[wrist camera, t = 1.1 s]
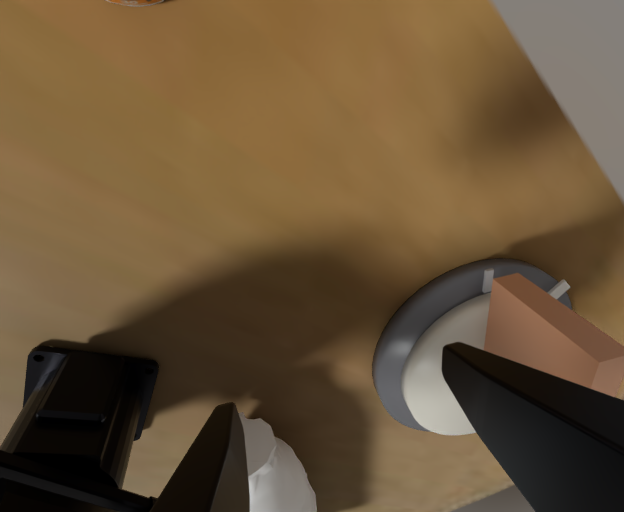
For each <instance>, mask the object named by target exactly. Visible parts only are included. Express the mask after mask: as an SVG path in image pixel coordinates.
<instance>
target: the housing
mask: <svg viewBox="0 0 624 512" xmlns="http://www.w3.org/2000/svg"><path fill="white" fill-rule="evenodd" d="M515 273H519V274H521V275H522V276H524V277H525V278H526V279H528V280H529V281H531V282H532V283H534V284H535V285H536V286H538V287H539V288H541V289H542V290H544V291H545V292H547V293H548V294H549V295H551V296H552V297H554V298H555V299H557V300H558V301H559V302H561V303H562V304H564V305H565V306H567V307H568V308H569V309H571V310H572V307H571V302H570V299H569V296H568V294H567V292H566V291H567V290H568V289H569V288H570V286H569V284H568V283H567V282H566V281H565V280H564V279H562V280H561V281H560V282H558V281H557V280H556V279H554V278H553V277H551V276H550V275H548V274H547V273H545V272H543V271H542V270H540V269H539V268H537V267H536V266H534V265H531V264H529V263H527V262H524V261H519V260H515V259H503V258H499V259H487V260H482V261H477V262H473V263H470V264H466V265H463V266H460V267H458V268H456V269H453V270H451V271H449V272H446V273H445V274H443V275H441V276H439V277H437V278H436V279H434V280H432V281H431V282H429V283H428V284H426V285H425V286H424V287H422V288H421V289H419V290H418V291H417V292H416V293H415V294H414V295H412V296H411V297H410V298H409V299H408V300H407V301H406V302H405V303H404V304H403V305H402V306H401V307H400V308H399V309H398V310H397V312H396V313H395V314H394V316H393V317H392V318H391V319H390V321H389V322H388V324H387V326H386V327H385V329H384V330H383V332H382V334H381V336H380V339H379V341H378V343H377V346H376V349H375V352H374V357H373V363H372V376H373V381H374V385H375V388H376V390H377V393H378V395H379V397H380V399H381V401H382V403H383V406H384V407H385V409H386V410H387V412H388V413H389V414H390V415H391V416H392V417H393V418H394V419H395V420H397V421H398V422H400V423H401V424H403V425H405V426H408V427H410V428H413V429H417V430H422V431H429V430H427V429H425V428H424V427H423V426H421V425H420V424H419V423H418V422H417V421H416V420H415V419H414V417H413V415H412V413H411V411H410V410H409V408H408V406H407V404H406V402H405V400H404V398H403V395H402V392H401V374H402V370H403V366H404V364H405V361H406V358H407V356H408V355H409V353H410V351H411V349H412V347H413V346H414V345H415V343H416V342H417V340H418V339H419V338H420V337H421V335H422V334H423V333H424V332H425V331H426V330H427V329H428V328H429V327H430V326H431V325H432V324H433V323H434V322H435V321H436V320H438V319H439V318H440V317H441V316H443V315H444V314H445V313H447V312H448V311H450V310H451V309H453V308H454V307H456V306H458V305H460V304H462V303H464V302H466V301H468V300H470V299H473V298H475V297H477V296H481V295H484V294H487V293H491V290H492V282H493V279H494V278H498V277H502V276H507V275H511V274H515ZM431 432H432V431H431Z"/></svg>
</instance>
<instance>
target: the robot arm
mask: <svg viewBox="0 0 624 512" xmlns="http://www.w3.org/2000/svg"><path fill="white" fill-rule="evenodd" d="M38 355H42V356H43V357H40V356H38ZM147 368H152V369H151V370H149V369H147ZM441 369H442V374H443V377H444V380H445V381H446V383H447V385H448V386H449V388H450V390H451V392H452V393H453V395H454V397H455V398H456V400H457V402H458V403H459V405H460V407H461V408H462V410H463V412H464V413H465V415H466V417H467V419H468V420H469V422H470V423H471V425H472V427H473V428H474V430H475V431H476V433H477V434H478V435H479V437H480V438H481V440H482V441H483V442H484V444H485V445H486V446H487V448H488V449H489V450H490V452H491V453H492V454H493V456H494V457H495V458H496V460H497V461H498V462H499V464H500V465H501V466H502V468H503V469H504V470H505V472H506V473H507V474H508V476H509V477H510V478H511V480H512V481H513V482H514V484H515V485H516V486H517V487H518V489H519V490H520V492H521V493H522V494H523V496H524V497H525V498H526V500H527V501H528V502H529V504H530V505H531V506H532V508H533V509H534V510H535V512H624V400H621V399H618V398H615V397H613V396H610V395H607V394H604V393H602V392H599V391H596V390H593V389H590V388H588V387H585V386H582V385H579V384H576V383H574V382H571V381H568V380H565V379H562V378H560V377H557V376H554V375H551V374H548V373H546V372H543V371H540V370H537V369H535V368H532V367H529V366H526V365H523V364H521V363H518V362H515V361H512V360H509V359H507V358H504V357H501V356H498V355H495V354H493V353H490V352H487V351H484V350H482V349H479V348H476V347H473V346H470V345H468V344H465V343H462V342H454V343H450V344H447V345H445V346H444V347H443V350H442V367H441ZM158 370H159V364H158V362H156V361H154V360H149V359H141V358H133V357H125V356H117V355H109V354H101V353H93V352H86V351H78V350H70V349H62V348H54V347H46V346H37V347H35V348H33V349H32V351H31V352H30V354H29V355H28V360H27V370H26V381H25V391H24V401H23V409H22V411H21V412H20V414H19V416H18V417H17V419H16V421H15V423H14V424H13V426H12V428H11V429H10V431H9V433H8V434H7V436H6V438H5V440H4V441H3V443H2V445H1V446H0V512H250V493H249V480H248V469H247V458H246V447H245V436H244V430H243V425H242V422H241V419H240V417H239V414H238V411H237V408H236V405H235V404H234V403H233V402H229V403H226V404H222V405H218V406H217V407H216V408H215V409H214V411H213V412H212V414H211V415H210V417H209V418H208V420H207V422H206V423H205V425H204V426H203V428H202V430H201V431H200V433H199V434H198V436H197V437H196V439H195V441H194V442H193V444H192V445H191V447H190V448H189V450H188V452H187V453H186V455H185V456H184V458H183V460H182V461H181V463H180V464H179V466H178V467H177V469H176V471H175V472H174V474H173V475H172V477H171V479H170V480H169V482H168V483H167V485H166V486H165V488H164V490H163V491H162V493H161V494H160V496H159V497H158V498H155V497H152V496H151V497H149V498H148V497H145V496H142V495H138V494H135V493H132V492H129V491H126V490H123V489H122V486H123V482H124V478H125V474H126V469H127V465H128V461H129V457H130V453H131V449H132V445H133V441H135V440H138V439H139V438H140V437H141V433H142V430H143V426H144V422H145V419H146V415H147V411H148V407H149V404H150V400H151V396H152V393H153V389H154V385H155V382H156V378H157V374H158Z"/></svg>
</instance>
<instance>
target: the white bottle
mask: <svg viewBox="0 0 624 512" xmlns="http://www.w3.org/2000/svg"><path fill="white" fill-rule="evenodd" d="M238 414H239V417H240V419H241V422H242V425H243V430H244V436H245V447H246V458H247V469H248V480H249V493H250V512H317V506H316V494H315V492H314V491H313V489H312V487H311V486H310V483H309V481H308V479H307V473H305V469H304V467H303V465H302V463H301V462H300V460H299V459H298V458H297V456H296V455H295V453H294V451H293V449H292V448H291V447H290V446H289V445H288V444H286V443H285V442H284V441H283V440H281V439H279V438H277V437H275V436H274V434H273V431H272V428H271V426H270V425H269V424H268V423H266V422H265V421H263V420H262V419H261V418H258V419H247V418H246V417H245V415H244V413H243V412H241V413H238Z"/></svg>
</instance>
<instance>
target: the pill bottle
mask: <svg viewBox="0 0 624 512" xmlns="http://www.w3.org/2000/svg"><path fill="white" fill-rule="evenodd" d="M106 1H109V2H111V3H115V4H120V5H126V6H149V5H154V4H157V3H160V2H162V1H165V0H106Z"/></svg>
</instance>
